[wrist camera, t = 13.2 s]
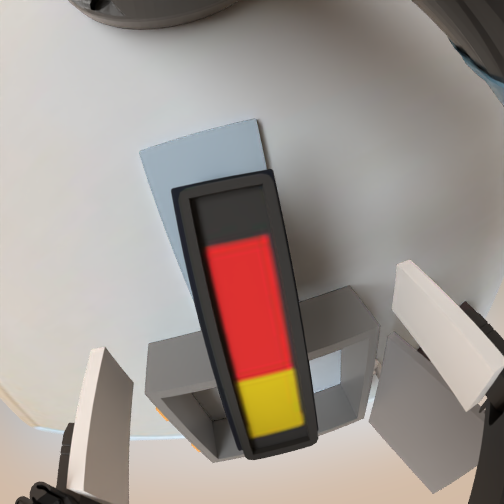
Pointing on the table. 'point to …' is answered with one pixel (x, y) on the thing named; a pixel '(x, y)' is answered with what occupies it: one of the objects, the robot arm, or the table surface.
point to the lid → (424, 417)
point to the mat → (199, 167)
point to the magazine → (249, 310)
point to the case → (318, 344)
